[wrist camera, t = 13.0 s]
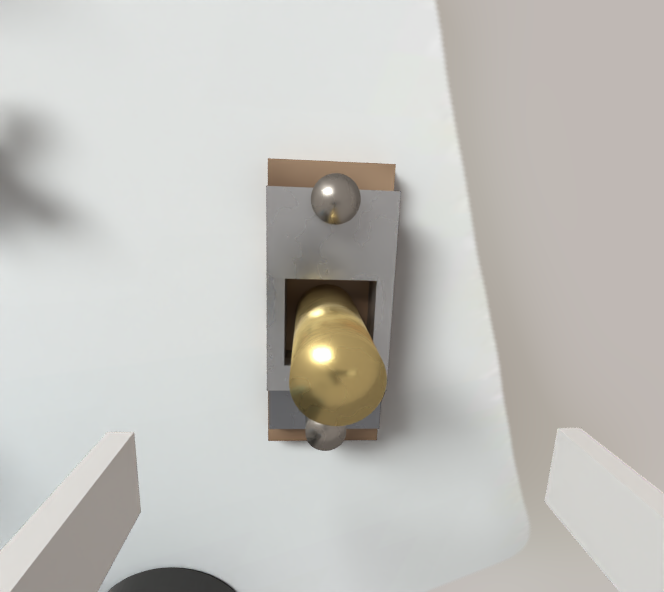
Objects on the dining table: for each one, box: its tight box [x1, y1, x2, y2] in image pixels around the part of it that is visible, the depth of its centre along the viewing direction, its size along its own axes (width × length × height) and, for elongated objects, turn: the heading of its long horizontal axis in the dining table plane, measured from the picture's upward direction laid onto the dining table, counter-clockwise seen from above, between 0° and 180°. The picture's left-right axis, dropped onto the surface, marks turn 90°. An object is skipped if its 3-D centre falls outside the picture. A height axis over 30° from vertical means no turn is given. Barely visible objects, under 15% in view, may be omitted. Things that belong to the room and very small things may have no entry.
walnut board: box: [268, 158, 396, 441], centre depth 30 cm, size 22×9×2 cm, turn 178°
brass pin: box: [289, 284, 387, 426], centre depth 23 cm, size 4×4×12 cm
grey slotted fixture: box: [266, 173, 401, 451], centre depth 27 cm, size 20×9×5 cm, turn 178°
